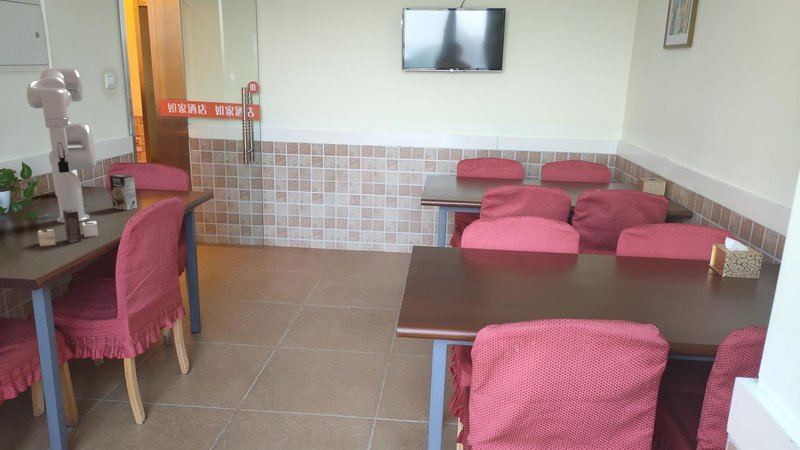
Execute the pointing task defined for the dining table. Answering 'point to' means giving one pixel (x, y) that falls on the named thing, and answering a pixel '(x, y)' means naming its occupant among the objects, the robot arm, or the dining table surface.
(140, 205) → the dining table surface
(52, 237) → the birch digit block
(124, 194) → the coffee box
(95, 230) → the offwhite digit block
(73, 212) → the box
